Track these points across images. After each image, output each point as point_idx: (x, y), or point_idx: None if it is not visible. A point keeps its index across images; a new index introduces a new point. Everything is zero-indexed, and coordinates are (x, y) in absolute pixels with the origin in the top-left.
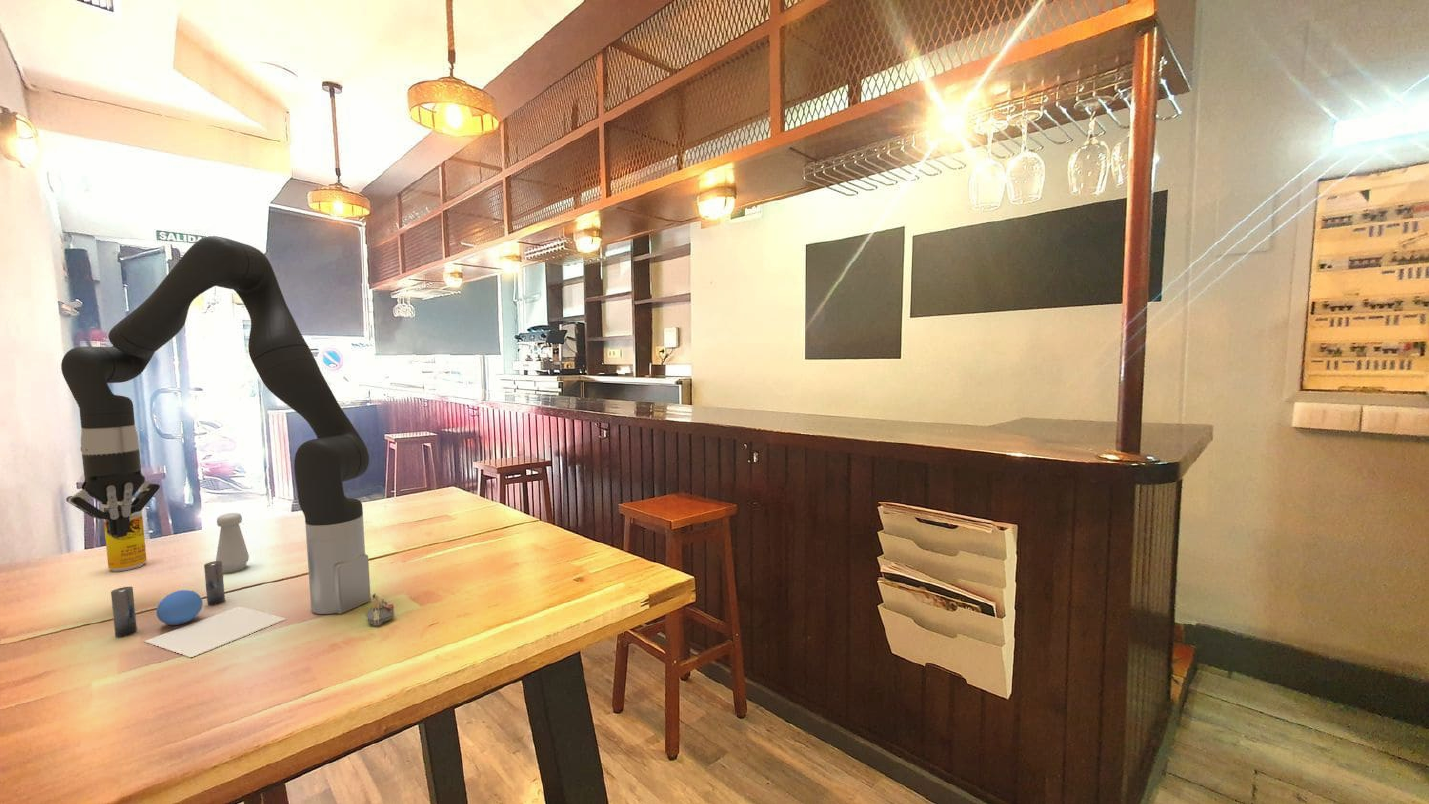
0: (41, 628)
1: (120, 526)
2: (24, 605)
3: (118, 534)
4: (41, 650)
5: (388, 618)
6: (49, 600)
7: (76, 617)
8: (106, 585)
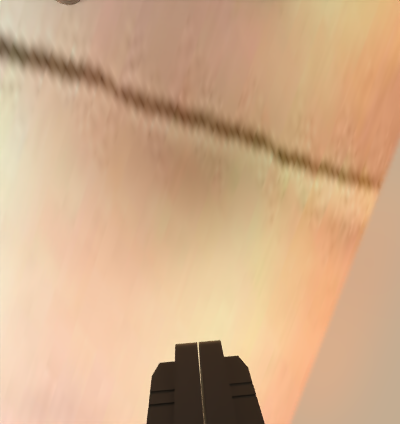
0: (327, 225)
1: (207, 390)
2: (282, 403)
3: (215, 349)
4: (385, 68)
5: None
6: None
7: (272, 231)
8: None
